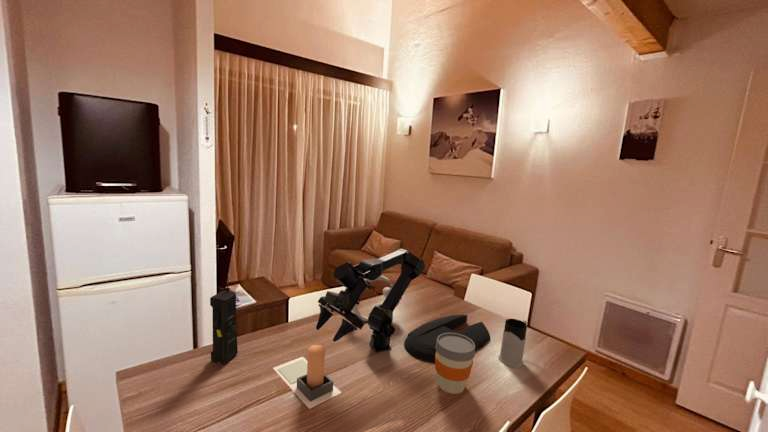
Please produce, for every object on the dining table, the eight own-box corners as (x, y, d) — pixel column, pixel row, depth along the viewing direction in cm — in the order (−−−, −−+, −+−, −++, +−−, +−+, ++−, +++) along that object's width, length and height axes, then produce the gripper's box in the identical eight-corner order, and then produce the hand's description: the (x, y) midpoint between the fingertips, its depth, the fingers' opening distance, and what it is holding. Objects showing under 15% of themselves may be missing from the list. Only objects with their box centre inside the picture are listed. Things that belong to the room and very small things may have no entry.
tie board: (341, 395, 102) (342, 383, 101) (309, 412, 95) (309, 399, 94) (302, 359, 119) (303, 348, 118) (272, 370, 111) (272, 359, 110)
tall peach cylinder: (320, 381, 106) (322, 343, 104) (325, 392, 102) (327, 352, 99) (304, 385, 104) (306, 346, 102) (308, 396, 99) (310, 355, 97)
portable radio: (224, 366, 111) (224, 294, 107) (208, 363, 112) (207, 291, 108) (239, 353, 119) (239, 285, 115) (223, 350, 120) (223, 283, 116)
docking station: (389, 342, 135) (390, 330, 134) (451, 316, 162) (452, 306, 161) (438, 374, 117) (439, 360, 116) (498, 338, 144) (500, 328, 143)
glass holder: (494, 359, 128) (499, 322, 125) (510, 346, 138) (516, 312, 135) (516, 370, 122) (523, 331, 119) (532, 356, 132) (538, 320, 129)
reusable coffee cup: (443, 367, 120) (448, 328, 118) (476, 384, 112) (482, 342, 110) (424, 384, 110) (428, 341, 108) (459, 403, 103) (465, 358, 100)
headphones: (386, 333, 149) (344, 314, 141) (380, 323, 157) (340, 305, 149) (410, 292, 149) (370, 271, 141) (403, 285, 157) (364, 264, 149)
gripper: (322, 273, 116) (293, 313, 111) (358, 291, 103) (327, 337, 98) (340, 289, 123) (314, 327, 118) (375, 307, 110) (348, 351, 105)
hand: (325, 335), depth 109 cm, fingers open, 9 cm apart
